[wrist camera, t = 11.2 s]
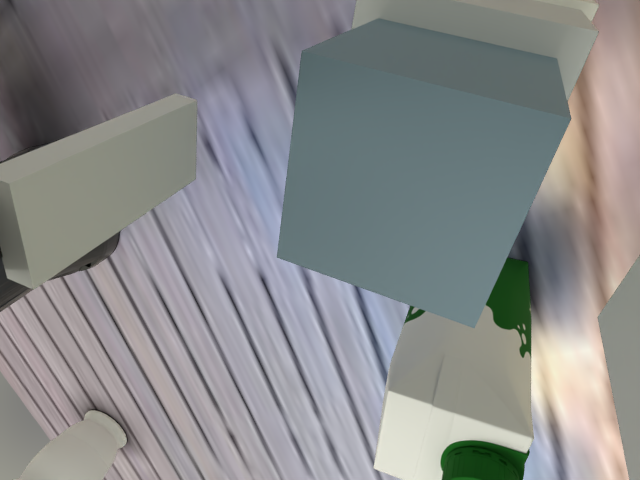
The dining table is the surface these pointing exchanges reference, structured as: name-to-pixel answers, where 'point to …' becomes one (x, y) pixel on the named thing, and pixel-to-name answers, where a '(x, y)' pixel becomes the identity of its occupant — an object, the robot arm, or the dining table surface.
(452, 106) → the slate block
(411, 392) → the milk carton
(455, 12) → the tower top
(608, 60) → the dining table surface
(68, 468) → the jar
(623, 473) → the dining table surface
